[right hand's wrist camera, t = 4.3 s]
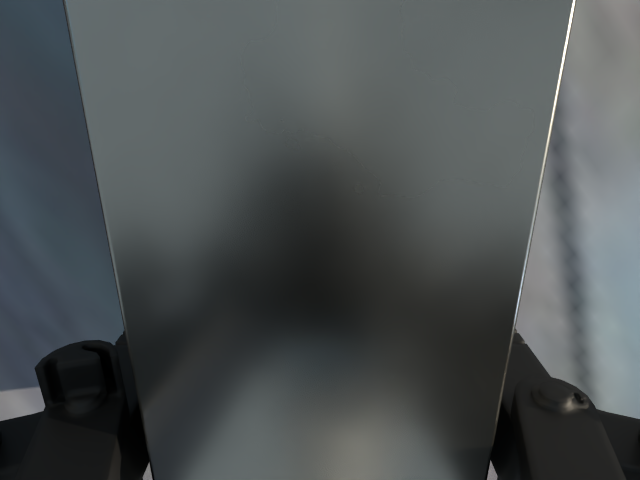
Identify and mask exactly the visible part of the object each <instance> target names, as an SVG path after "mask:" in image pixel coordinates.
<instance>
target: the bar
mask: <svg viewBox="0 0 640 480" xmlns="http://www.w3.org/2000/svg"><path fill="white" fill-rule="evenodd" d="M63 4H64V10H65V15H66V20H67V26H68V31H69V36H70V42H71V47H72V52H73V58H74V63H75V68H76V74H77V79H78V84H79V90H80V95H81V100H82V105H83V111H84V116H85V121H86V127H87V132H88V137H89V143H90V148H91V153H92V159H93V164H94V169H95V175H96V180H97V185H98V191H99V196H100V201H101V207H102V212H103V217H104V223H105V228H106V233H107V239H108V244H109V249H110V255H111V260H112V265H113V271H114V276H115V281H116V287H117V292H118V297H119V303H120V308H121V313H122V319H123V324H124V329H125V334H126V340H127V345H128V350H129V356H130V361H131V366H132V372H133V377H134V382H135V388H136V393H137V398H138V404H139V409H140V414H141V420H142V425H143V430H144V436H145V441H146V446H147V452H148V457H149V462H150V468H151V473H152V478H153V480H487V476H488V470H489V465H490V460H491V454H492V449H493V444H494V438H495V433H496V428H497V422H498V417H499V412H500V406H501V401H502V396H503V390H504V385H505V380H506V374H507V369H508V363H509V358H510V353H511V347H512V342H513V337H514V331H515V326H516V321H517V315H518V310H519V305H520V299H521V294H522V289H523V283H524V278H525V273H526V267H527V262H528V257H529V251H530V246H531V241H532V235H533V230H534V225H535V219H536V214H537V209H538V203H539V198H540V193H541V187H542V182H543V176H544V171H545V166H546V160H547V155H548V150H549V144H550V139H551V134H552V128H553V123H554V118H555V112H556V107H557V102H558V96H559V91H560V86H561V80H562V75H563V70H564V64H565V59H566V54H567V48H568V43H569V38H570V32H571V27H572V22H573V16H574V11H575V6H576V0H63Z"/></svg>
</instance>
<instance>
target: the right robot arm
mask: <svg viewBox="0 0 640 480" xmlns="http://www.w3.org/2000/svg"><path fill="white" fill-rule="evenodd" d="M35 371H36V375H37V378H38V382H39V385H40V389H41V392H42V396H43V399H44V403H45V409H44V411H42V412H39V413H35V414H31V415H26V416H22V417H17V418H13V419H8V420H4V421H0V480H143V475H144V473H145V470H146V468H147V466H148V463H149V457H148V452H147V446H146V441H145V436H144V430H143V425H142V420H141V414H140V409H139V404H138V398H137V393H136V388H135V382H134V377H133V372H132V366H131V361H130V356H129V350H128V345H127V340H126V334H125V330H124V332H123V335H121V336H120V337H119V339H118V340H117V341H116V344H115V345H112V344H111V343H109V342H105V341H101V340H89V341H81V342H77V343H73V344H69V345H67V346H64V347H62V348H59V349H57V350H55V351H53V352H52V353H50V354H49V355H47V356H46V357H44V358H43V359H42V360H41V361H40V362H39V363H38V365H37V366H36V367H35ZM491 462H492V464H493V466H494V469H495V471H496V473H497V476H498V477H497V480H640V419H636V418H632V417H627V416H622V415H618V414H613V413H609V412H605V411H601V410H598V409H596V408H595V406H594V404H593V403H592V401H591V400H590V399H589V397H588V396H587V395H586V394H585V393H583V392H582V391H581V390H579V389H578V388H577V387H575V386H573V385H571V384H569V383H567V382H565V381H563V380H560V379H556V378H552V377H551V376H550V375H549V374H548V372H547V371H546V370H545V368H544V367H543V366H542V364H541V363H540V362H539V360H538V359H537V357H536V356H535V355H534V353H533V352H532V351H531V349H530V348H529V347H528V345H527V344H525V343H524V340H523V338H522V337H521V336H520V334H519V333H517V330H516V329H515V331H514V337H513V342H512V347H511V353H510V358H509V363H508V369H507V374H506V380H505V385H504V390H503V396H502V401H501V406H500V412H499V417H498V422H497V428H496V433H495V438H494V444H493V449H492V454H491Z"/></svg>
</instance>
